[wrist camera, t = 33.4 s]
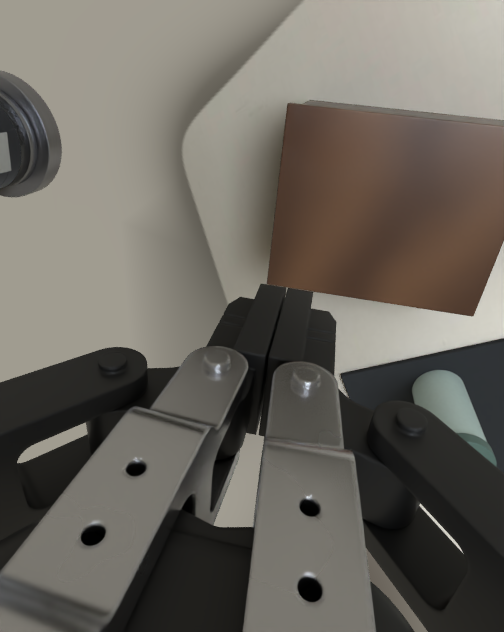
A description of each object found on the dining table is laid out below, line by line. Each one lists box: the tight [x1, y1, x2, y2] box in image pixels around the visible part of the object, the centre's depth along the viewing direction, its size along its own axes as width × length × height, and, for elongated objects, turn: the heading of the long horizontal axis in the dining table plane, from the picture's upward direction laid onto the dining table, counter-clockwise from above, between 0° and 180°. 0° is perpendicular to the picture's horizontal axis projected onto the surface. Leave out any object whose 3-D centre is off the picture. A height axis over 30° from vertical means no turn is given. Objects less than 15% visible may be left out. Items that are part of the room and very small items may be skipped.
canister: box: [412, 370, 497, 466], centre depth 39 cm, size 5×5×10 cm
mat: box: [341, 339, 504, 473], centre depth 45 cm, size 20×20×1 cm
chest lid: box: [267, 103, 504, 316], centre depth 29 cm, size 15×13×1 cm
